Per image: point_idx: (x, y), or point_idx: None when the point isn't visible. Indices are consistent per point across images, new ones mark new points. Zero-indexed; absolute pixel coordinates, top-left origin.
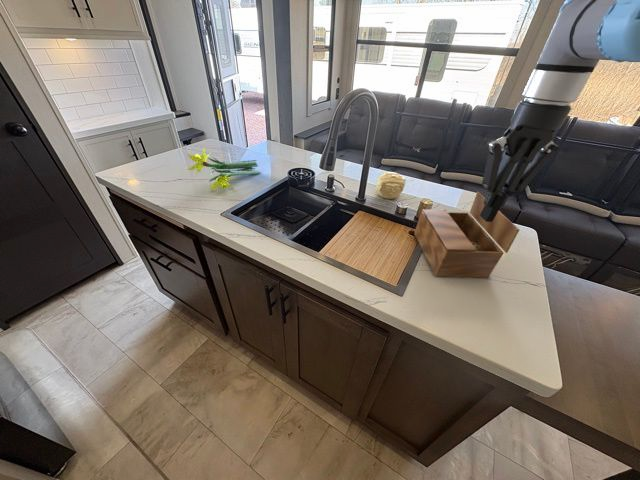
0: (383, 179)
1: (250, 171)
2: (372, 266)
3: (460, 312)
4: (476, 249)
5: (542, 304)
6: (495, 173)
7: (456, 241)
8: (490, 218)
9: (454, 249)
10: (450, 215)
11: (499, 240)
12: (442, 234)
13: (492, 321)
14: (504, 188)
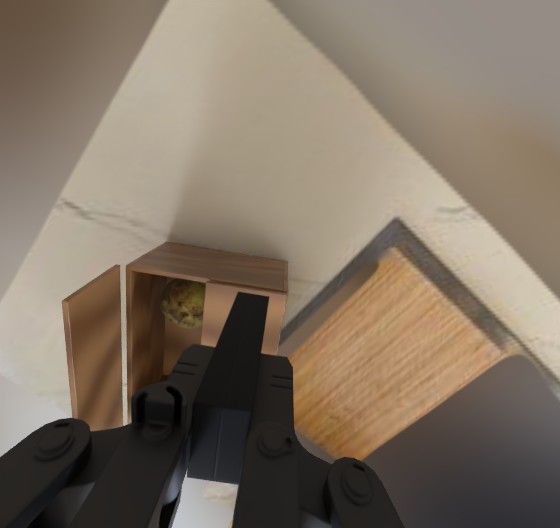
0: None
1: None
2: (414, 307)
3: (292, 156)
4: (186, 295)
5: (88, 148)
6: None
7: None
8: (253, 302)
9: (268, 292)
10: None
11: (114, 306)
12: (265, 351)
13: (235, 122)
14: (175, 480)
